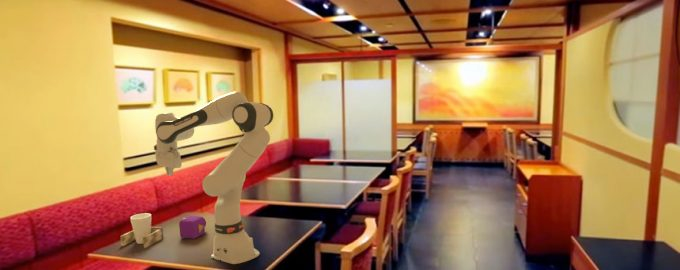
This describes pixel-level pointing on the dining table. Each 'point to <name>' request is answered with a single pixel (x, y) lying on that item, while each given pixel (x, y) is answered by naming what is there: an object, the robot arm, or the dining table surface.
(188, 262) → the dining table surface
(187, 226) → the toy camera
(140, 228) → the foam cup
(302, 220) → the dining table surface
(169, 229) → the dining table surface
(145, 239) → the cup holder
